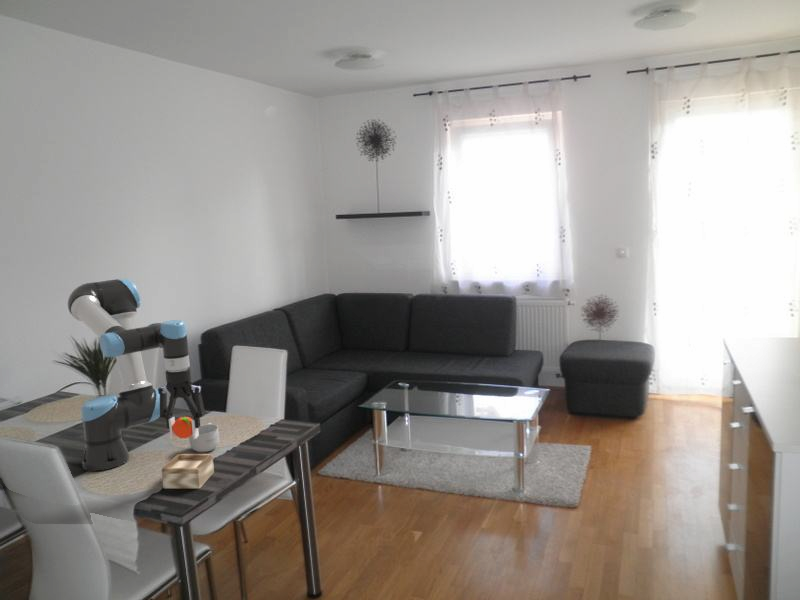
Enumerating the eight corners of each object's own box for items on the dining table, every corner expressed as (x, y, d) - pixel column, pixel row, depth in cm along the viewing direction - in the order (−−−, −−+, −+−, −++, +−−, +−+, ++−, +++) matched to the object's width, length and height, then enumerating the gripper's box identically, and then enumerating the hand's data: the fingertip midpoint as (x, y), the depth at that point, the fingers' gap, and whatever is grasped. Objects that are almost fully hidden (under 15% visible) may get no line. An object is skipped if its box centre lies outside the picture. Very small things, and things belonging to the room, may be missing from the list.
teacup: (211, 455, 226) (209, 434, 225) (184, 454, 228) (181, 433, 227) (229, 441, 240) (227, 421, 238) (203, 440, 242) (201, 420, 240)
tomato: (201, 437, 204) (199, 416, 203) (181, 444, 199) (179, 422, 198) (190, 432, 210) (188, 411, 208) (170, 438, 205) (168, 417, 204)
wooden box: (163, 488, 202) (161, 469, 201) (180, 472, 213) (178, 454, 212) (199, 488, 200) (197, 469, 199) (214, 472, 212) (212, 453, 211)
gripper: (142, 372, 198) (150, 442, 202) (202, 371, 196) (209, 441, 200) (153, 366, 205) (161, 433, 209) (212, 365, 203) (218, 432, 207)
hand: (184, 437), depth 204 cm, fingers closed on tomato, 7 cm apart
